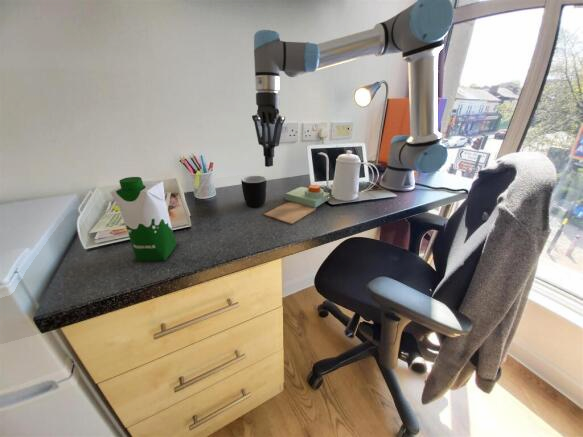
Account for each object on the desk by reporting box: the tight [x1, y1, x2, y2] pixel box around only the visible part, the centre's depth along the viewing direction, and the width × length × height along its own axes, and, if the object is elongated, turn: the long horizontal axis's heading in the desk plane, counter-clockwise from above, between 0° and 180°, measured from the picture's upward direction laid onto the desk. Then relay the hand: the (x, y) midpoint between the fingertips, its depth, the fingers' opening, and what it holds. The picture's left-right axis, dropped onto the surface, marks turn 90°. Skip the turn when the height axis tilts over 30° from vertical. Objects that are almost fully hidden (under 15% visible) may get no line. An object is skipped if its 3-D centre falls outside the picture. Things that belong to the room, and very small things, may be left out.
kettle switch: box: [308, 184, 321, 193], centre depth 91 cm, size 4×4×2 cm
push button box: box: [284, 186, 331, 209], centre depth 94 cm, size 14×11×4 cm
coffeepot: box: [317, 149, 380, 202], centre depth 94 cm, size 11×25×19 cm, turn 62°
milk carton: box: [110, 176, 178, 262], centre depth 56 cm, size 9×9×20 cm
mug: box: [240, 175, 267, 209], centre depth 89 cm, size 12×9×10 cm
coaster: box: [263, 200, 317, 225], centre depth 84 cm, size 12×15×1 cm
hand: (269, 165), depth 85 cm, fingers closed
